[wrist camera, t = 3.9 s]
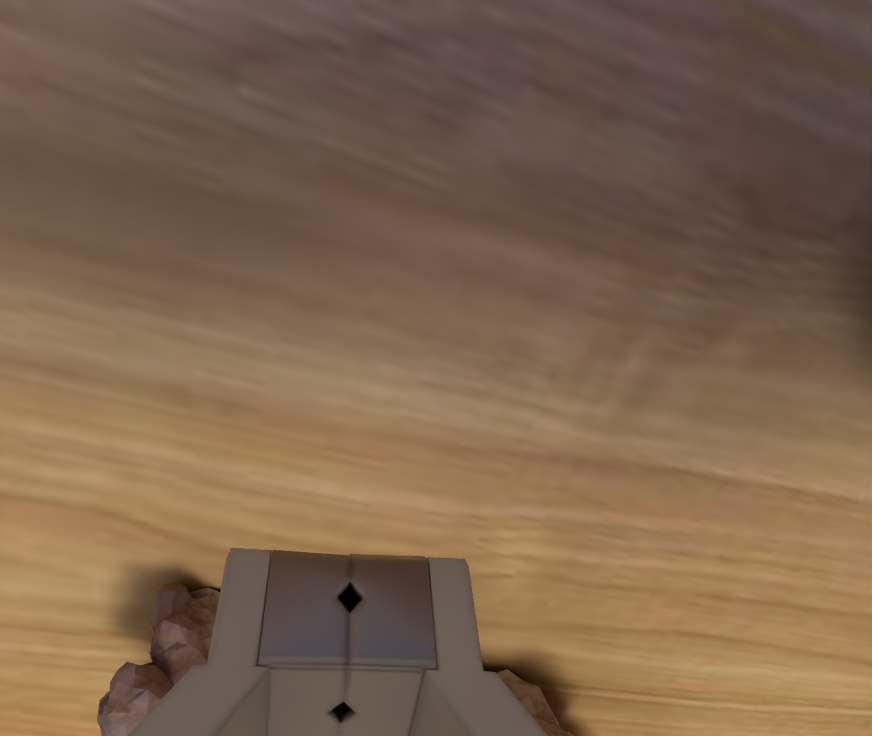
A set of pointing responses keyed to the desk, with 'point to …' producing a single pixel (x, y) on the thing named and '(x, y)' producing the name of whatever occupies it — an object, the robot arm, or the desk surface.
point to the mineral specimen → (189, 645)
